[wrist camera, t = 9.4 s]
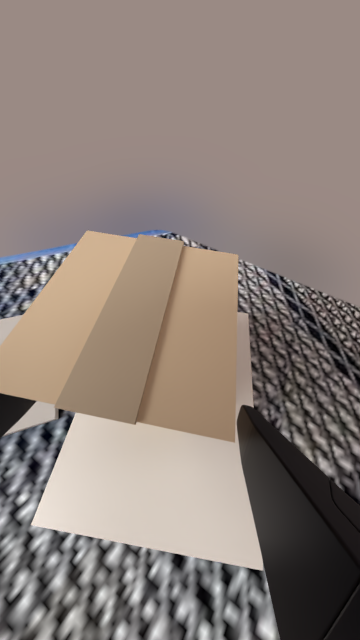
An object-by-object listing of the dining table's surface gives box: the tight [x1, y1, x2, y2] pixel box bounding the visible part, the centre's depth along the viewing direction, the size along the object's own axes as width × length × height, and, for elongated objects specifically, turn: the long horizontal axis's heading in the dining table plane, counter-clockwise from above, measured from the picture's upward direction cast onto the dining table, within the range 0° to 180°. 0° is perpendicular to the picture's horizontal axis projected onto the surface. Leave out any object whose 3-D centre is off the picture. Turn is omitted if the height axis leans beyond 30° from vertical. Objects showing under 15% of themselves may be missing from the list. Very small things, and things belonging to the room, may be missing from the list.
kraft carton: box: [0, 231, 238, 443], centre depth 10 cm, size 6×6×12 cm
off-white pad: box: [31, 312, 263, 571], centre depth 16 cm, size 18×14×1 cm
